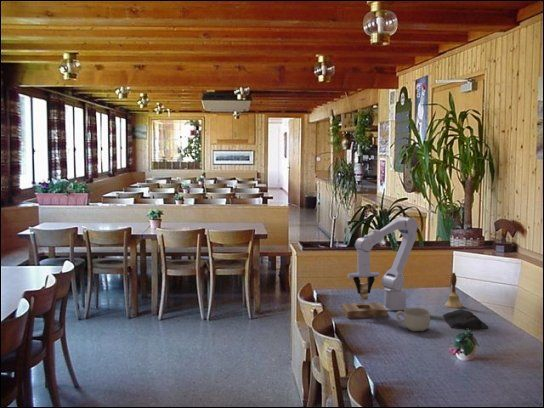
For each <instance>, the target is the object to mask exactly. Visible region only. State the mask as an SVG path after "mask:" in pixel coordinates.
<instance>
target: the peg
mask: <svg viewBox="0 0 544 408" xmlns="http://www.w3.org/2000/svg"><path fill="white" fill-rule="evenodd" d="M368 295H369V293H368V282H367V283H366V282H360V294H359V296H360V297H359V300H362V301H366V300H368Z"/></svg>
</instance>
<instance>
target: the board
mask: <svg viewBox="0 0 544 408" xmlns="http://www.w3.org/2000/svg"><path fill="white" fill-rule="evenodd" d="M341 311H342V312H343V314H344V315H345V316H346V318H347V319H353V318H354V319H356V318H357V319H359V318H360V319H361V318H362V319H363V318H383V317H384V318H385V317H388V311H387V310H386V309H385V307H384V306H383V305H382V303H381V302H378V301H377V302H373V301H372V302H351V303H349V302H348V303H347V302H346V303H345V302H344V303H341Z"/></svg>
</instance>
